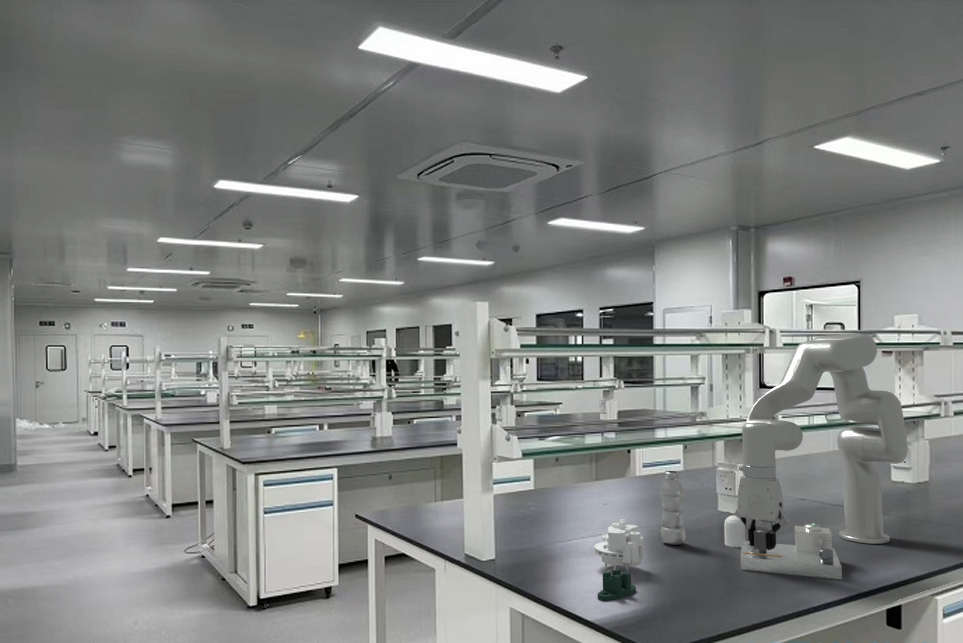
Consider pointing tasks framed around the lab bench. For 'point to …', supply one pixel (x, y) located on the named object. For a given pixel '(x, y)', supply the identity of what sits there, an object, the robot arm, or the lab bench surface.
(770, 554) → the levelling base
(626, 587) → the mount
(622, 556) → the mechanical part
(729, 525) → the capsule
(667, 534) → the plastic bottle
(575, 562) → the lab bench surface
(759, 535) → the block
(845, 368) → the robot arm
